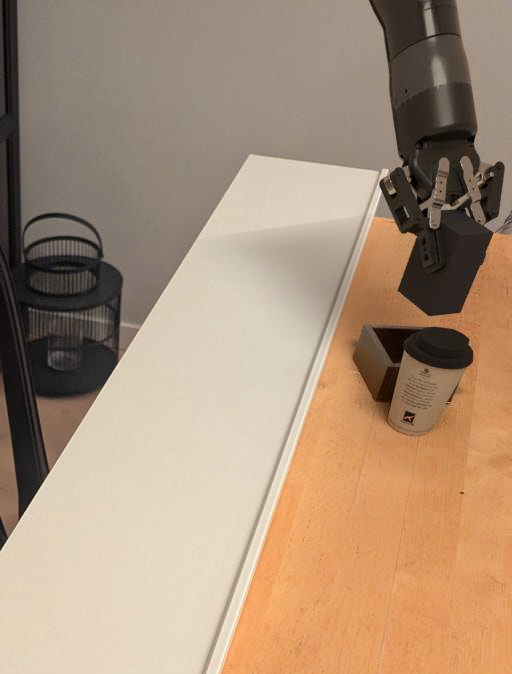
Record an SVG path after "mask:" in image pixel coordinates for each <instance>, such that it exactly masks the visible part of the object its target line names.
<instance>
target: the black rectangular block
mask: <svg viewBox="0 0 512 674" xmlns="http://www.w3.org/2000/svg"><path fill="white" fill-rule="evenodd" d="M427 215H428V213H427ZM427 215H426V217H427ZM437 230H442V237H443V244H444V251H445V258H446V266H445V268H444V269H442V270H440V271H438V272H436V273H433V274H428V273H427V272H426V268H424V266H423V264H422V259H421V252H420V246H419V240H418V238H416V237H415V240H414V243H413V246H412V249H411V251H410V254H409V257H408V259H407V262H406V265H405V268H404V270H403V273H402V277H401V279H400V282H399V285H398V288H397V290H396V291H397V292H398V293H399V294H401V295H402V296H403V297H404V298H405V299H407V301H409V302H410V303H412V304H413V305H414V306H415V307H417V308H418V309H419V310H420V311H422V313H424V314H425V315H426V316H428V317H437V316H445V315H455V314H461V313H462V310H463V307H464V305H465V303H466V300H467V298H468V296H469V293H470V291H471V288H472V286H473V284H474V282H475V279H476V278H477V274H478V272H479V269H480V267H481V266H482V265H481V262H482V260H483V258H484V255H485V253H486V254H487V251H488V248H489V245H490V243H491V241H492V239H493V236H494V234H495V232H493V231H492V230H491V229H489V228H487V227H486V226H485V225H484V226H483V225H482V224H480V223H479V222H477V221H476V220H474V219H473V218H471V217H470V215H469V214H467V215H466V214H465V213H463V212H462V211H458V210H456V209H451V210H447V209H441V217H440V226H439V228H437ZM480 265H481V266H480Z"/></svg>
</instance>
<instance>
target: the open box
mask: <svg viewBox="0 0 512 674" xmlns="http://www.w3.org/2000/svg"><path fill="white" fill-rule="evenodd" d="M427 327H428V326H416V325H394V324H393V325H390V324H367V323H364V324H363V325H362V328H361V331H360V334H359V336H358V340H357V342H356V345H355V349H354V352H353V355H352V360H353V362H354V364H355V365H356V367H357V369H358V371H359V373H360V375H361V378H362V379H363V381H364V383H365V384H366V386H367V388H368V390H369V392H370V395H371V396H372V398H373V400H374V401H375V402H380V403H381V402H384V403H392V399H393V395H394V391H395V387H396V382H397V378H398V374H399V370H400V366H401V362H402V358H403V354H404V347H403V345H404V342H405V341H406V339H407V338H408V337H409V336H411V335H412V334H413V333H416V332H420V331H421V330H422V329H424V328H427ZM461 379H462V378H461ZM461 379H460V381H459V382H458V384H457V386H456V388H455V389H454V391H453V393H452V394H451V396H450V398H449V399H448V401H447V402H452V401H453V398H454V396H455V394H456V391H457V389H458V387H459V385H460V382H461Z"/></svg>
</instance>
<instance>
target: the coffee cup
mask: <svg viewBox="0 0 512 674" xmlns="http://www.w3.org/2000/svg"><path fill="white" fill-rule="evenodd" d="M426 327H427V328H424V329H422V330H421V331H420V332H416V333H413V334H412V335H411V336H409V337H408V338H407V339H406V341H405V342H404V345H403V347H404V354H403V358H402V362H401V366H400V370H399V374H398V378H397V382H396V387H395V391H394V395H393V399H392V402H390V408H389V410H388V411H389V412H388V416H387V419H386V420H387V424H388V425H389V426H390V427H391V428H392V429H393V430H395V431H397V432H399V433H401V434H402V435H403V434H404V435H408V436H413V437H414V436H416V437H420V436H425V435H428V434H429V433H430V432H431V430H432V429H433V427H434V425H435V423H436V422H437V420H438V418H439V416H440V415H441V413H442V411H443V409H444V408H445V406H446V405H447V404H446V403H447V401H448V399H449V398H450V396H451V394H452V393H453V391H454V389H455V388H456V386H457V384H458V382H459V381H460V382H461V380H460V379H462V377H464V374H465V373H466V371H467V369H468V368H469V367H470V366H471V365H472V364H473V363H474V350H473V348H472V347H471V346H470V338H469V337H468V336H467V335H466V334H464V333H463V332H461V331H459V330H457V329H455V328H449V327H442V326H426ZM460 382H459V383H460ZM458 385H459V384H458Z"/></svg>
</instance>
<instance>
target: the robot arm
mask: <svg viewBox="0 0 512 674" xmlns="http://www.w3.org/2000/svg"><path fill="white" fill-rule="evenodd" d="M368 2H369V4H370V6H371V9H372V11H373V14H374V16H375V18H376V19H377V21H378V24H379V25H380V27H381V30H382V34H383V35H382V36H383V43H384V49H385V57H386V62H387V71H388V95H389V101H390V108H391V115H392V122H393V128H394V135H395V141H396V143H395V144H396V148H397V156H398V158H399V159H400V160H401V161H402V164H401V167H400V166H397V167H395V168H394V169H393V170H391V171H390V172H389V173H387V174H386V175H385V176H384V177H382V178H381V179H379V182H378V185H379V189H380V191H381V193H382V195H383V197H384V200H385V202H386V204H387V206H388V209H389V211H390V213H391V216H392V217H393V220H394V222H395V224H396V227H397V229H398V231H399V232H400V234H401V235H402V234H403V235H405V234H407V233H409V234H412V235H414V236H415V239H416V238H418V240H419V246H420V252H421V259H422V264H423V266H424V268H426V272H427V273H428V274H433V273H436V272H438V271H440V270H442V269H444V268H445V266H446V258H445V251H444V244H443V237H442V230H437V228H439V226H440V217H441V210H442V208H443V206H445V207H446V210H451V209H456V210H458V211H462V212H463V213H465V214H466V215H469V216H470V217H471V218H473V219H474V220H476V221H477V222H479V223H480V224H482V225H483V226H485V225H486V224H488V223H490V222H491V221H493V220H495V219H497V218H498V217H499V216H500V209H501V202H502V194H503V193H502V192H503V185H504V178H505V170H506V166H505V164H504V162H502V161H499V160H498V161H497V162H495V163H493V164H489V163H486V162H484V161H481V157H480V155H479V153H478V152H477V150H476V147H475V140H476V136H477V134H478V128H479V126H478V120H477V112H476V106H475V98H474V92H473V84H472V77H471V71H470V65H469V59H468V56H467V53H466V50H465V47H464V42H463V37H462V30H461V23H460V22H461V21H460V16H459V8H458V2H457V0H368ZM463 197H465V198H464V199H463V200H461V201H459V200H460V199H462V198H463ZM467 212H468V213H467ZM427 213H428V215H427ZM426 215H427V217H426ZM486 255H487V252H486V253H485V255H484V258H483V260H482V262H481V265H480V267H481V266H483V264H484V263H485V260H486V257H487V256H486Z"/></svg>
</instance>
